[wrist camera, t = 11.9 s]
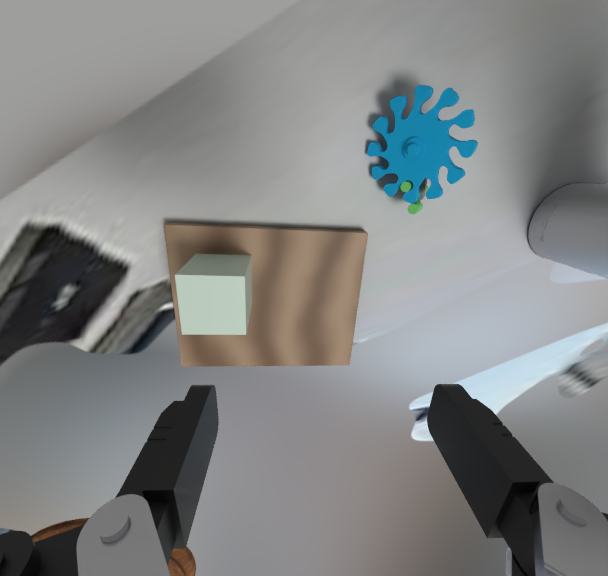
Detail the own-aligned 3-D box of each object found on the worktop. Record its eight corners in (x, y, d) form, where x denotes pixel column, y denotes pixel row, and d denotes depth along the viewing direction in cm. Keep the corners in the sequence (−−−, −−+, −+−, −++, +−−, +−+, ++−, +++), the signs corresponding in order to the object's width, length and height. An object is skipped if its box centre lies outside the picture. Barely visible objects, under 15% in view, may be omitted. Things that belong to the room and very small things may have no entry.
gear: (366, 91, 27) (488, 75, 21) (394, 92, 30) (503, 79, 25) (361, 209, 32) (457, 222, 26) (385, 197, 36) (472, 206, 30)
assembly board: (364, 230, 33) (379, 241, 28) (346, 358, 40) (357, 385, 35) (168, 222, 31) (147, 232, 26) (185, 359, 38) (170, 388, 33)
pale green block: (251, 255, 32) (244, 276, 25) (252, 303, 34) (246, 334, 27) (196, 253, 31) (174, 274, 25) (200, 303, 33) (181, 334, 27)
